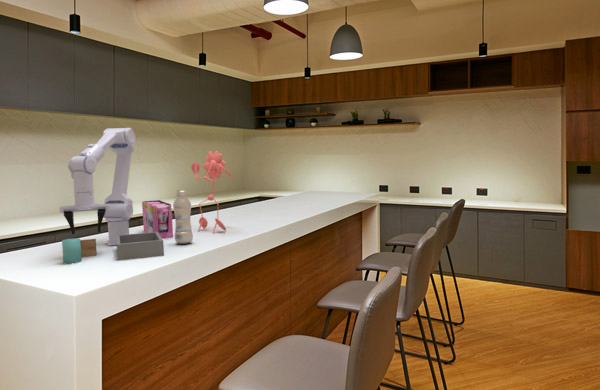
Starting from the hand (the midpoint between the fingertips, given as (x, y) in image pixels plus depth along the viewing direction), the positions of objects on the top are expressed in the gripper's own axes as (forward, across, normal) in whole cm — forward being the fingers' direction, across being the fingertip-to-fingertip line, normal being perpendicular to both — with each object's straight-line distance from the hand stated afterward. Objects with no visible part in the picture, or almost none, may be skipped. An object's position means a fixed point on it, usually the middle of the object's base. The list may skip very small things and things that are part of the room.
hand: (86, 232), depth 138 cm
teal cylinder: (+8, -4, -8) cm, 12 cm away
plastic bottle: (+8, +32, +3) cm, 33 cm away
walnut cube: (+8, 0, 0) cm, 8 cm away
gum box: (+8, +25, +29) cm, 39 cm away
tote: (+8, +16, -4) cm, 18 cm away
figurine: (+8, +50, +26) cm, 57 cm away
